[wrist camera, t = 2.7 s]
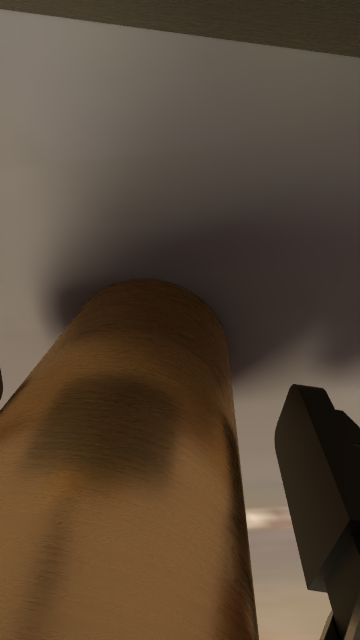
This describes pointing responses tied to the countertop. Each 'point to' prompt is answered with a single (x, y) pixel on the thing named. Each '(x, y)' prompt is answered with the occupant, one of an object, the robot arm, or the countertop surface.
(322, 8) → the grey boxy block
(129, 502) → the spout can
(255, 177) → the countertop surface
